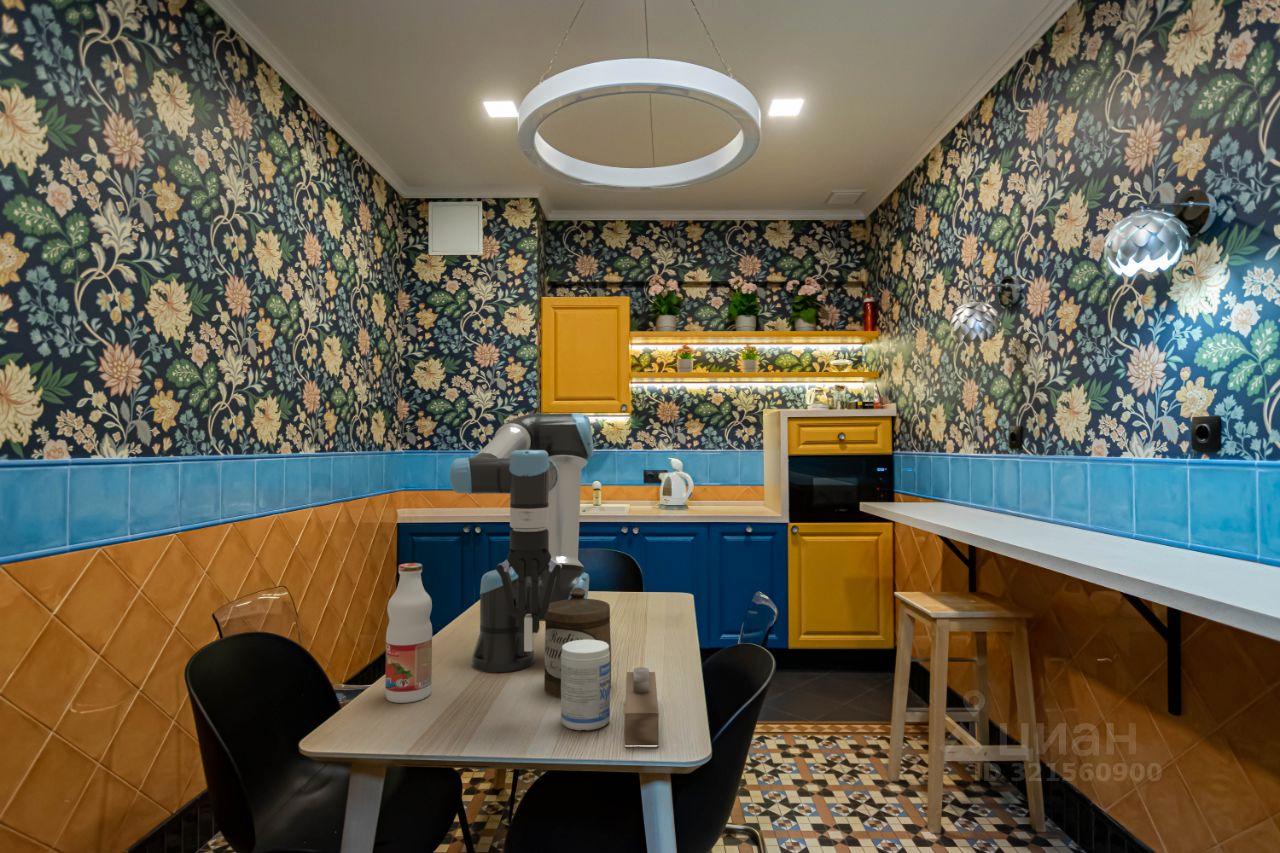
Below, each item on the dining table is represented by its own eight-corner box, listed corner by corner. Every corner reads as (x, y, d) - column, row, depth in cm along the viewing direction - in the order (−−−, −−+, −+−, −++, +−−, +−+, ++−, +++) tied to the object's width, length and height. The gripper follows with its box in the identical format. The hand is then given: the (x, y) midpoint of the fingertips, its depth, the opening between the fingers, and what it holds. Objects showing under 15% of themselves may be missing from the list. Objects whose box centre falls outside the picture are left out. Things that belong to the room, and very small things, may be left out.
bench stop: (624, 747, 116) (624, 690, 117) (626, 700, 138) (626, 652, 139) (658, 747, 116) (658, 690, 117) (655, 700, 138) (655, 652, 139)
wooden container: (532, 694, 142) (532, 592, 143) (562, 673, 156) (563, 579, 157) (594, 703, 137) (595, 597, 138) (620, 680, 151) (621, 584, 152)
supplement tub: (611, 731, 123) (612, 652, 124) (560, 734, 122) (561, 654, 122) (607, 711, 133) (608, 637, 133) (560, 713, 131) (561, 639, 132)
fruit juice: (437, 697, 140) (439, 565, 141) (391, 707, 134) (393, 570, 136) (423, 685, 148) (425, 559, 149) (380, 693, 142) (382, 563, 143)
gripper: (491, 531, 125) (491, 655, 125) (560, 531, 125) (560, 655, 125) (500, 525, 132) (499, 643, 132) (564, 525, 132) (564, 642, 132)
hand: (529, 649), depth 128 cm, fingers closed
